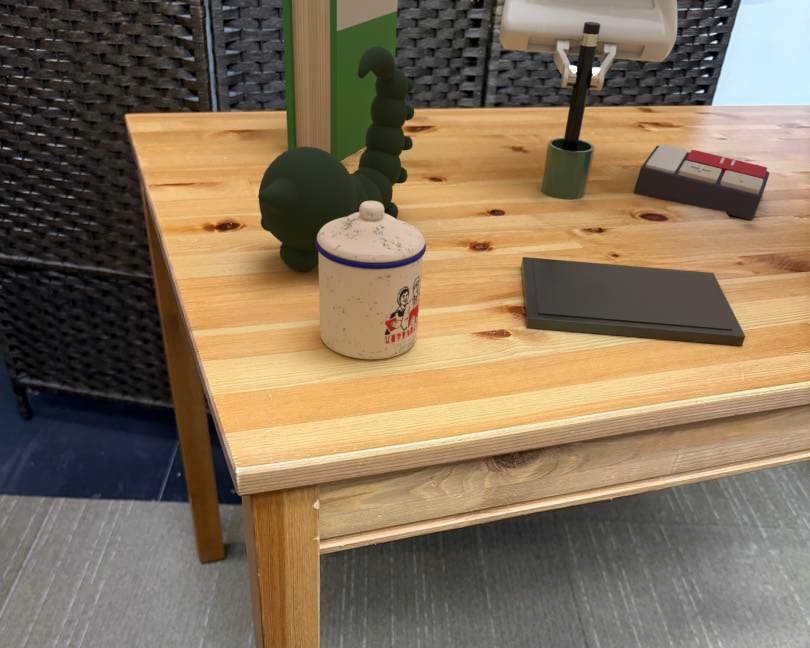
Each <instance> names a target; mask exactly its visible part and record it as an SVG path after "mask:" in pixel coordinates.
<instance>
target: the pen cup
mask: <svg viewBox="0 0 810 648" xmlns="http://www.w3.org/2000/svg"><path fill="white" fill-rule="evenodd" d="M563 141H564V137H557V138H551V139H550V140H548V142H547V146H546V152H545V157H544V165H543V169H542V170H543V171H542V176H541V177H542V178H541V182H540V183H541V184H540V191H541V193H543V194H544V195H545V196H548V197H550V198H554V199H558V200H565V201H566V200H569V201H571V200H580V199H582V198H584V197H585V196H586V194H587V189H588V184H589V177H590V174H591V168H592V164H593V159H594V153H595V149H596V148H595V145H594V144H592V143H591V142H589V141H586V140H584V139H579V142H578V147H577V151H568V150H563V149H562V147H563Z"/></svg>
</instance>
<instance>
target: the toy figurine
mask: <svg viewBox="0 0 810 648" xmlns="http://www.w3.org/2000/svg"><path fill="white" fill-rule="evenodd" d="M370 71H372V72H373V73H374V75H375V76H376V77H377V79H376V83H375V89H376V93H377V95H376V97H375V98H374V99H373V101H372V104H371V108H370V111H371V119H372V121H373V123H372V124H371V125H370V126H369V128H368V130H367V133H366V136H365V139H366V146H365V147H366V148H365V149H364V151H363V152H362V153H361V156H360V158H359V161H358V168H357V169H356V170H355V171H354V172H351V173H350V171H349V170H348V169H347V168H346V166H345V165H344V164H343V162H342V161H339V160H338V159H337V158H335V157H334V156H333V155H331V154H330V153H328V152H326V151H323V150H321V149H318V148H314V147H306V146H304V147H297V148H292V149H290V150H288V149H287V150H285V151H283V152H282V153H280V154H279V155H277V156H276V157H275V158H274V159H273V161H272V162H271V163H270V164H269V165H268V166H267V168H266V170H265V171H264V173H263V175H262V178H261V181H260V183H259V188H258V194H257V198H258V205H259V206H258V207H259V211H260V216H261V218H260V226H261V228H262V230H264V231H266V232H269V233H270V234H271V235H272V236H273V237H274V238H275V239H276V240H277V241H279V242H280V243H281V245H280V247H279V257H280V259H281V260H282V262H283V263H284V265H285V266H287V267H289V268H291V269H294V270H296V271H301V272H312V271H313V270H316V268H317V267H319V251H318V250H317V248H316V244H315V241H316V238H317V235H318V232H319V231H320V229H321V228H322V227H323V226H324V225H325V224H327V223H329V222H331V221H333V220H336V219H339V218H343V217H348V216H349V215H351V214H354V213H357V212H359V208H360V205H361V204H362V203H363V202H365V201H377V202H380V203H381V204H382V205H383V206H384V213H386V214H388V215H390V216H392V217H394V218H395V219H397V217H398V215H399V207H398V206H397V205H396V203H395V202H393V201H392V200H393V194H394V189H393V186H395V185H396V184H404V183H406V182H407V180H408V177H409V175H408V170H407V169H406V168H405V167H403V166H402V161H401V158H400V155H402V152H403V151H404V152H406V151H410V150H411V149H412V148H413V145H414V143H413V139H412V138H411V136H406V135H405V132H404V130H403V128H402V127H403V126H404V125H405V124H406V121H410V120H412V119H413V118H414V117H415V109H414V107H413V106H411V104H407V102H406V100H405V99H406V97H407V96H408V93H411V92H412V91H413V90H414V88H415V83H414V81H413V80H412V79H411V78H409V77H408V76H407V75H406V74H405V72H404V71H403V70H401V69H400V68H398V67H396V59H395V60H394V57H393V56H392V54H391V53H390V52H389V51H388V50H387V49H385V48H383V47H381V46H376V47H371V48H369V49H368V50H366V51H365V52H364V54H363V55H362V57H361V59H360V63H359V67H358V76H359V78H364V77H365V76H366V75H367V74H368V73H369V72H370Z"/></svg>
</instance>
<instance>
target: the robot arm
mask: <svg viewBox="0 0 810 648" xmlns="http://www.w3.org/2000/svg"><path fill="white" fill-rule="evenodd" d="M503 2H504V5H503V10H502V14H501V15H502V16H501V21H500V29H499V35H498V41H499V43H500V45H501V46H502V47H503V49H504V50H507V51H520V52H521V51H522V52H532V53H533V52H534V53H544V54H553V62H554V64H555V66H556V67H557V69H558V71H559V73H560V75H561V83H560V88H567V89H573V88H574V84H575V83H576V76H577V75H576V73H577V65H573V64H571V63H570V61H569V59H568V55H569V56H579V51H580V45H581V38H582V33H583V28H584V23H585V22H596V23H599V24H600V30H599V37H598V42H597V46H596V52H595V57H594V58H599V64H600V65H599V67H597V66H596V67H595V66H593V67H592V72H591V78H590V83H589V88H588V91H600V92H601V91H602V89H603V86H604V81H605V75H606V74H607V72H608V71H609V69H610V68H611V66H613V63H614V60H615V59H616V60H617V59H618V60H630V61H631V60H632V61H644V62H654V63H655V62H656V63H661V62H663V61H664V60H665V59H666V58H667V57H668V56H669V55H670V53H672V50H673V48H674V46H675V43H676V40H677V36H678V22H679V21H678V18H679V17H678V0H503Z"/></svg>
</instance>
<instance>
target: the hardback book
mask: <svg viewBox="0 0 810 648" xmlns="http://www.w3.org/2000/svg"><path fill="white" fill-rule="evenodd" d="M281 3H282V28H283V30H282V31H283V56H284V57H283V60H284V81H285V82H284V85H285V106H286V107H285V109H286V111H285V113H286V135H287V136H286V139H287V141H286V142H287V150H290V149H292V148H297V147H304V146H306V147H314V148H318V149H321V150H323V151H326V152H328V153H330V154H331V155H333V156H334V157H335V158H337V159H338V160H339V161H340V162H342V160H344V159H346V158H347V157H349V156H351V155H353V154H354V153H356V152H358V151H360V150H362V149H363V148H365V147H366V139H365V136H366V133H367V130H368V128H369V126H370V125H371V124H372V123H373V121H372V119H371V111H370V108H371V104H372V101H373V99H374V98H375V97H376V95H377V93H376V89H375V83H376V79H377V77H376V76H375V75H374V73H373V72H372V71H370V72H369V73H368V74H367V75H366V76H365V77H364V78H359V76H358V67H359V63H360V59H361V57H362V55H363V54H364V52H365V51H366V50H368V49H369V48H371V47H376V46H381V47H383V48H385V49H387V50H388V51H389V52H390V53H391V54H392V56H393V57H394V60H395V61H396V54H397V53H396V49H397V29H398V28H397V27H398V26H397V25H398V5H399V1H398V0H282V1H281Z"/></svg>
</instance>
